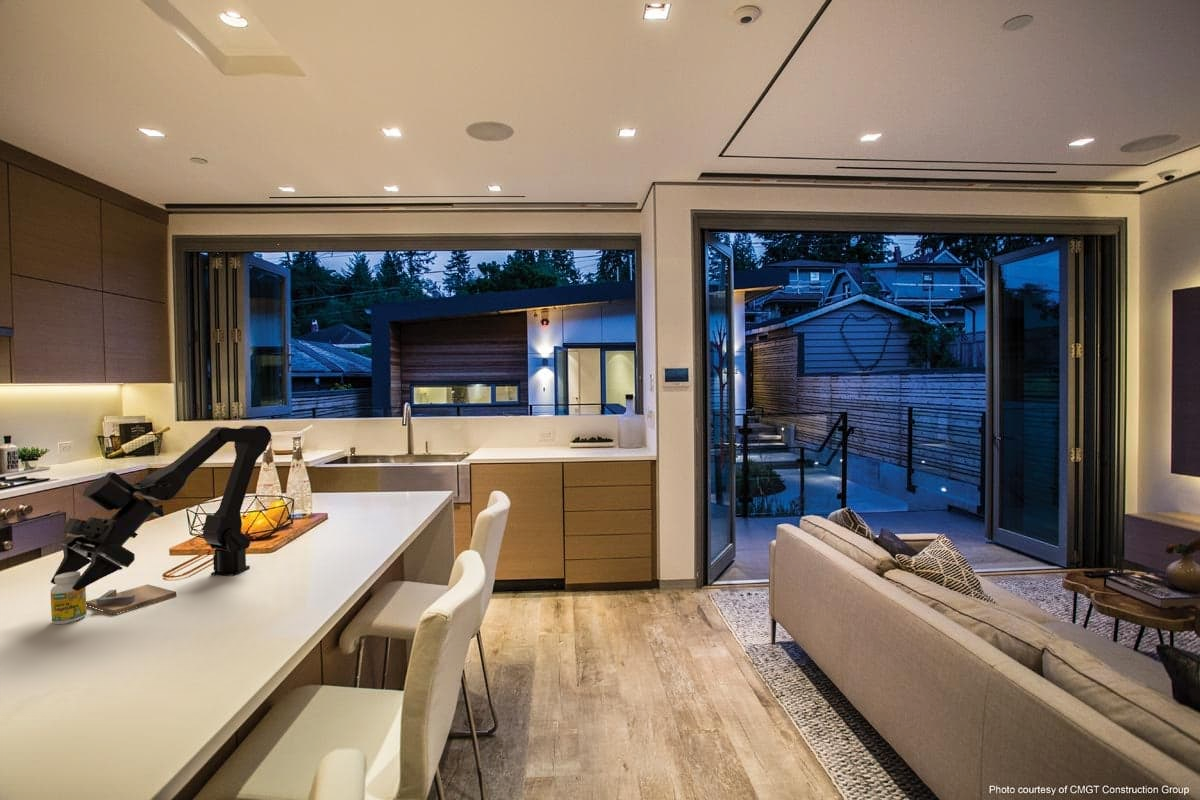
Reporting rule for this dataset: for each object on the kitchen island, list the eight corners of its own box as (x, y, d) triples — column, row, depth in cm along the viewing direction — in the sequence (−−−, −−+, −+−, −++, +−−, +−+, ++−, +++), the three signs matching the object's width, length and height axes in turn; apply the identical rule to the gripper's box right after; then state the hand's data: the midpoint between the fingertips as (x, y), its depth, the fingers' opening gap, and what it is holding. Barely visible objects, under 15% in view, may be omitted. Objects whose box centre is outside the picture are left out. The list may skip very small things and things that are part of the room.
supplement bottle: (89, 612, 122) (87, 568, 122) (83, 620, 117) (82, 575, 117) (55, 618, 119) (53, 573, 119) (48, 627, 114) (46, 580, 114)
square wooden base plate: (148, 588, 136) (147, 578, 136) (176, 595, 131) (176, 585, 131) (84, 606, 125) (83, 595, 125) (112, 615, 120) (111, 604, 120)
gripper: (71, 498, 126) (4, 561, 116) (115, 505, 118) (47, 573, 108) (115, 525, 133) (55, 587, 123) (159, 534, 125) (99, 600, 115)
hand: (63, 586), depth 117 cm, fingers open, 9 cm apart
